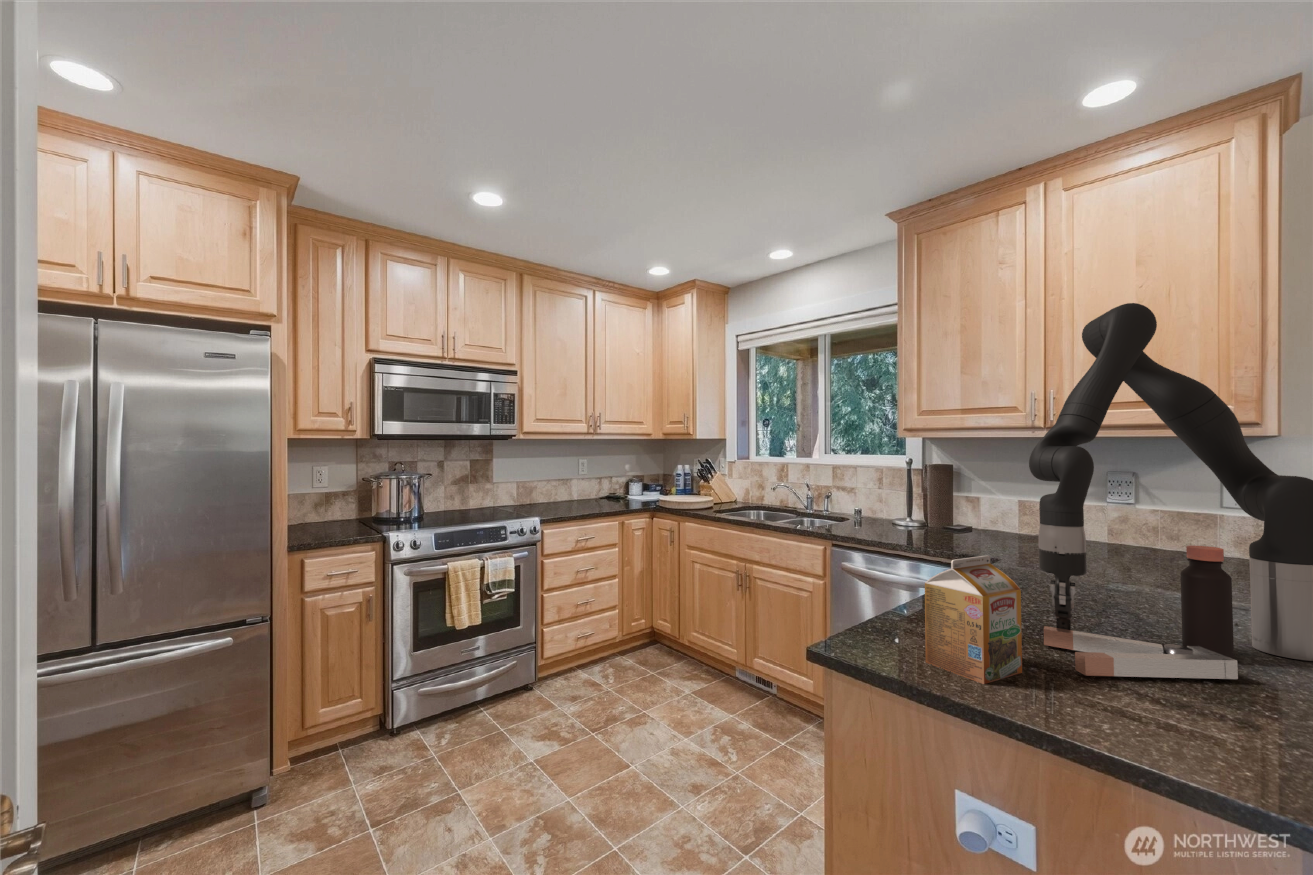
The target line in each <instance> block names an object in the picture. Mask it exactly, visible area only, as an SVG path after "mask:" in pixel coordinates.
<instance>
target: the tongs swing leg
mask: <svg viewBox="0 0 1313 875" xmlns="http://www.w3.org/2000/svg"><path fill="white" fill-rule="evenodd" d="M1043 645H1044V646H1050V647H1052V648H1053V647H1054V648H1058V649H1059V648H1061V649H1064V650H1065V649H1067V650H1072V651H1075V652H1097V653H1143V654H1189V655H1193V650H1192V649H1191V648H1188V647H1185V646H1182V644H1181V645H1179V644H1173V643H1165V644H1164V645H1162V643H1161V644H1160V643H1154V642H1150V641H1149V642H1148V641H1143V640H1142V641H1141V640H1135V639H1130V638H1124V637H1116V636H1110V635H1103V634H1098V633H1097V634H1096V633H1092V632H1085V631H1078V630H1066V629H1060V628H1057V627H1055V626H1054V627H1053V626H1046V625H1044V626H1043Z"/></svg>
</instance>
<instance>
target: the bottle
mask: <svg viewBox="0 0 1313 875" xmlns="http://www.w3.org/2000/svg"><path fill="white" fill-rule="evenodd" d="M1185 551H1186V558H1187V559H1186V560H1187V561H1188V563H1189V564H1188V566H1186V567H1185V568H1184V569H1182V570H1181V571H1180V574H1179V575H1180V576H1179V577H1180V604H1181V605H1180V606H1181V612H1180V613H1181V639H1182V640H1181V646H1185V647H1187V646H1200V647H1202V648H1205V649H1208V650H1210V651H1213V652H1216V653H1218V654H1221V655H1224V656H1226V657H1229V658H1232V659H1235V647H1234V646H1235V645H1234V619H1233V618H1234V616H1233V615H1234V613H1233V584H1232V583H1233V580H1232V576H1230V574H1228V573H1227V572H1226V570H1224V569H1223V568H1222V565H1223V564H1224V561H1225V560H1224V559H1225V558H1224V555H1225V554H1224V548H1221V547H1216V546H1207V545H1195V544H1193V545H1190V544H1189V545H1186V550H1185Z"/></svg>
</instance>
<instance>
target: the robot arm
mask: <svg viewBox="0 0 1313 875" xmlns="http://www.w3.org/2000/svg"><path fill="white" fill-rule="evenodd" d="M1157 324H1158V321H1157V318H1156V316H1155V313H1153V311H1152V310H1151V309H1150V308H1149V307H1147V306H1146V305H1143V304H1140V303H1136V302H1127V303H1123V304H1120V305H1118V306H1116V307H1113V308H1111V309H1110V310H1108V311H1106V312H1105V313H1103V314H1101V315H1100V316H1098V317H1095V318H1094V319H1092V320H1091V321H1089V322H1088V323H1087V324H1085V326H1084V327H1083V329H1082V332H1081V338H1082V342H1083V344H1084V347H1085V348H1086V350H1087V351H1088V352H1089V353H1090V355H1092V356H1093V357H1094V358H1095V360H1094V362H1093V363H1092V365H1091V366H1090V367H1089V369H1087V371H1086V373H1085V374H1084V375H1083V376H1082V377H1081V378H1080V380H1079V381H1078V382H1077V384H1076V385H1075V386H1074V387H1073V389H1072V390H1071V392H1069V395H1068V396H1067V397H1066V400H1065V401H1064V403H1063V406H1062V408H1061V411H1060V412H1059V415H1058V416H1057V419H1056V421H1055V423H1054V424H1053V426H1052V427H1051V428H1050V429H1049V430H1048V431H1047V432H1046V433H1045V434H1044V436H1043V437H1042V438H1041V439H1040V440H1039V441H1038V443H1037V444H1036V445H1035V446H1034V448H1033V449H1032V451H1031V453H1030V456H1029V460H1028V468H1029V471H1030V473H1031V475H1032V476H1033V477H1034V478H1035V479H1037V480H1040V481H1043V482H1059V484H1058V487H1057V489H1056V492H1053V493H1047V494H1044V495H1042V496H1041V497H1040V499H1039V508H1038V510H1039V529H1038V568H1039V570H1040V571H1041V572H1043V573H1047V574H1052V575H1054V578H1055V579H1050V583H1049V588H1050V589H1049V590H1050V593H1051V604H1052V606H1053V607H1054V613H1053V614H1054V616H1055V617H1054V618H1055V619H1056V628H1060V629H1066V630H1071V629H1072V628H1071V627H1072V626H1071V623H1072V622H1071V621H1072V619H1073V613H1072V611H1073V609H1075V594H1076V582H1074V581H1071V580H1070V579H1071V577H1072V576H1074V577H1082V576H1086V575H1087V572H1088V571H1087V570H1088V568H1087V566H1088V565H1087V538H1086V533H1085V532H1086V530H1085V517H1084V515H1085V514H1084V512H1085V511H1084V510H1085V509H1084V504H1085V502H1086V499H1087V496H1088V492H1089V488H1090V486H1091V482H1092V479H1093V476H1094V471H1095V470H1094V469H1095V464H1094V461H1093V457H1092V455H1091V454H1090V452H1089V451H1088V450H1086V448H1084V447H1082V446H1081V445H1084V444H1087V443H1091V442H1092V441H1093V440H1094V439H1096V438H1097V435H1098V434H1099V431H1100V429H1101V427H1102V425H1103V422H1104V420H1105V419H1106V415H1107V413H1108V410H1109V409H1110V406H1111V404H1112V403H1113V400H1114V399H1115V396H1116V395H1117V393H1118V391H1119V389H1120V388H1121V386H1122V384H1123V383H1125V384H1126V385H1127V386H1128V387H1129V388H1130V389H1131V390H1132V391H1133V392H1134V393H1135V394H1136V395H1137V396H1138V397H1139V398H1140V399H1141V400H1142V401H1143V402H1144V403H1145V404H1146V405H1147V406H1148V407H1149V408H1150V409H1151V410H1152V411H1153V412H1154V413H1155V414H1156V416H1157V417H1158V418H1159V419H1160V420H1161V421H1162V422H1163V423H1164V424H1165V425H1166V426H1167V427H1168V428H1169V429H1170V431H1171V432H1172V433H1174V435H1176V437H1178V439H1180V440H1181V441H1182V442H1183V443H1184V444H1185V445H1186V446H1187V448H1189V449H1190V450H1191V452H1193V454H1194V455H1195V456H1196V457H1198V459H1199V460H1201V461H1202V462H1203V463H1204V465H1205V466H1206V467H1207V468H1209V469H1210V471H1211V472H1212V473H1213V474H1214V475H1215V477H1216V478H1217V479H1218V481H1219V482H1220V484H1222V486H1223V487H1224V488H1225V489H1226V491H1227V492H1228V494H1229V495H1230V496H1231V498H1232V499H1233V500H1234V501H1235V502H1236V504H1237V505H1238V506H1239V507H1240V508H1241V510H1242V511H1243V512H1244V513H1246V514H1247V515H1248V516H1250V517H1252V519H1253V518H1254V519H1256V520H1258V521H1262V522H1263V531H1262V532H1263V533H1262V536H1261V537H1260V538H1259V539H1257V540H1254V541H1252V542H1251V543H1250V544H1249V547H1248V551H1249V552H1248V555H1249V556H1248V559H1249V581H1250V582H1249V585H1250V586H1249V589H1250V590H1249V591H1250V615H1251V616H1250V617H1251V618H1250V619H1251V621H1250V622H1251V623H1250V624H1251V647H1252V648H1254V649H1256V650H1257V651H1260V652H1263V653H1267V654H1270V655H1273V656H1278V657H1282V658H1287V659H1294V660H1300V661H1309V662H1313V479H1311V478H1310V477H1309V478H1308V477H1305V476H1298V475H1282V474H1281V475H1279V474H1277V473H1276V472H1274V471H1273V470H1272V469H1271V468H1270V467H1268V466H1267V465H1266V464H1264V462H1263V461H1261V460H1260V458H1258V456H1256V455H1255V453H1254V452H1253V451H1252V450H1251V449H1250V447H1249V446H1248V444H1247V442H1246V440H1245V438H1244V434H1243V431H1242V428H1241V425H1240V422H1239V420H1238V418H1237V416H1236V414H1235V413H1234V411H1232V409H1231V408H1230V407H1229V406H1228V404H1226V403H1225V401H1223V399H1221V398H1220V397H1219V396H1218V394H1216V393H1215V391H1213V390H1212V389H1211V388H1210V387H1209V386H1207V385H1205V384H1204V383H1202V382H1201V381H1198V380H1197V379H1194V378H1193V377H1192V378H1191V377H1190V376H1187V375H1184V374H1182V373H1180V372H1177V371H1174V370H1171V369H1169V368H1167V367H1165V366H1163V365H1161V364H1159V363H1157V362H1156V361H1155V360H1153V359H1152V358H1151V357H1150V356H1149V355H1148V354H1146V352H1144V350H1145V349H1146V347H1147V346H1148V345H1149V344H1150V342H1151V340H1152V339H1153V338H1154V336H1155V335H1156V334H1155V333H1156V331H1157V326H1158V325H1157Z"/></svg>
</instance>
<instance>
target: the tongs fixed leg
mask: <svg viewBox="0 0 1313 875" xmlns="http://www.w3.org/2000/svg"><path fill="white" fill-rule="evenodd" d="M1187 647H1188V648H1191V649H1192V650H1193V655H1189V654H1164V653H1163V654H1143V653H1097V652H1082V651H1075V652H1074V662H1075V664H1074V666H1075V671H1077V672H1079V673H1080V674H1082V675H1084V676H1085V677H1086V676H1091V677H1093V676H1094V677H1131V678H1134V677H1135V678H1136V677H1137V678H1167V679H1168V678H1171V679H1175V678H1176V679H1177V678H1179V679H1209V680H1210V679H1214V680H1215V679H1219V680H1238V679H1239V674H1238V673H1239V671H1238V670H1239V668H1238V660H1237V659H1235V658H1234V659H1232V658H1229V657H1226V656H1224V655H1221V654H1218V653H1216V652H1213V651H1210V650H1208V649H1205V648H1202V647H1200V646H1187Z"/></svg>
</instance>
